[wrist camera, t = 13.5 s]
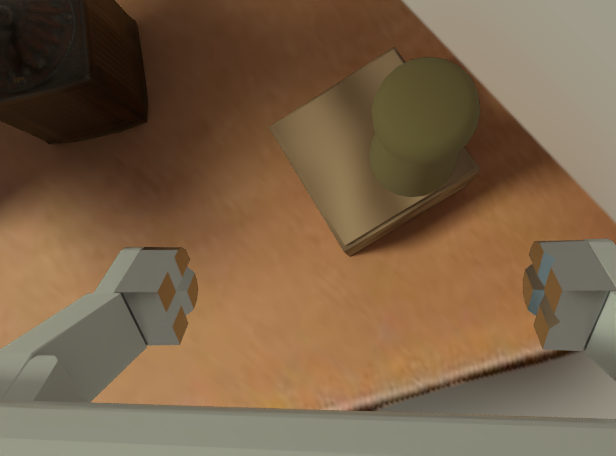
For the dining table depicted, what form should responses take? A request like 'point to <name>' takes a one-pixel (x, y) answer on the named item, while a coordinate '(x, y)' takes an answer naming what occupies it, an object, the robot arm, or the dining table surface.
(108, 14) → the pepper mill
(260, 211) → the dining table surface
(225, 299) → the dining table surface
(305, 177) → the walnut block
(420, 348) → the dining table surface
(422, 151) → the olive knobbed peg
